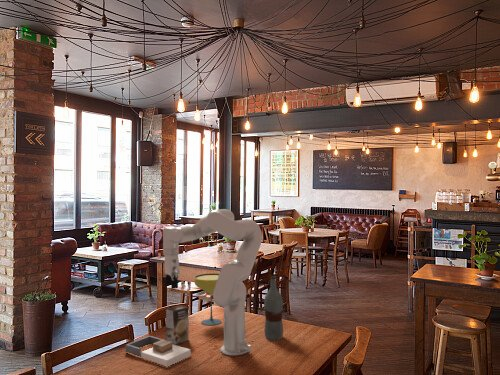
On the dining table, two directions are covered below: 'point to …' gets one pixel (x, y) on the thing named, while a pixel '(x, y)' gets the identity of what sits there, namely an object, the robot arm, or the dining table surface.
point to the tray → (140, 344)
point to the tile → (162, 346)
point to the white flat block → (167, 355)
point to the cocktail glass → (208, 284)
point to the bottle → (273, 312)
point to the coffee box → (177, 324)
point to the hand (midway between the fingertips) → (171, 286)
